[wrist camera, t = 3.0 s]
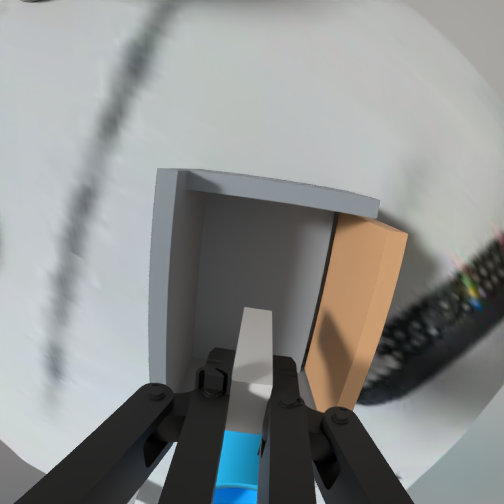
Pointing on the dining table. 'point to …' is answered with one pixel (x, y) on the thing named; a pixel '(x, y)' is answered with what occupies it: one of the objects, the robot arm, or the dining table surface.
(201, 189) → the box
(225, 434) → the mug
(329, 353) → the panel
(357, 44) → the dining table surface
